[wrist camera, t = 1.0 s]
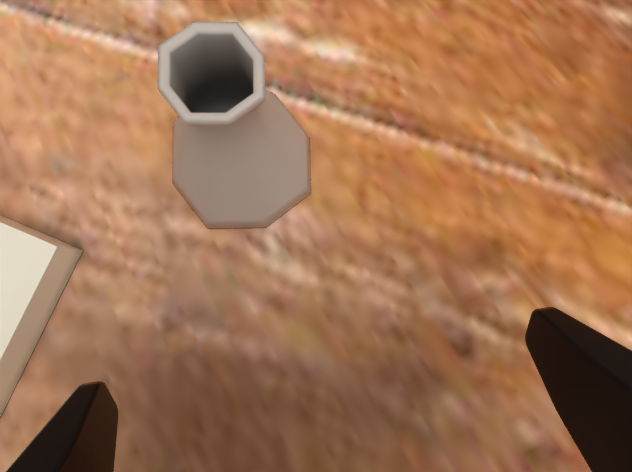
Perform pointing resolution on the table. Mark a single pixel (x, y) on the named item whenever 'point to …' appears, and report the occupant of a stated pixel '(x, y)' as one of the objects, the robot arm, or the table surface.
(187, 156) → the flask
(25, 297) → the tray
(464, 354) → the table surface
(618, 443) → the robot arm
